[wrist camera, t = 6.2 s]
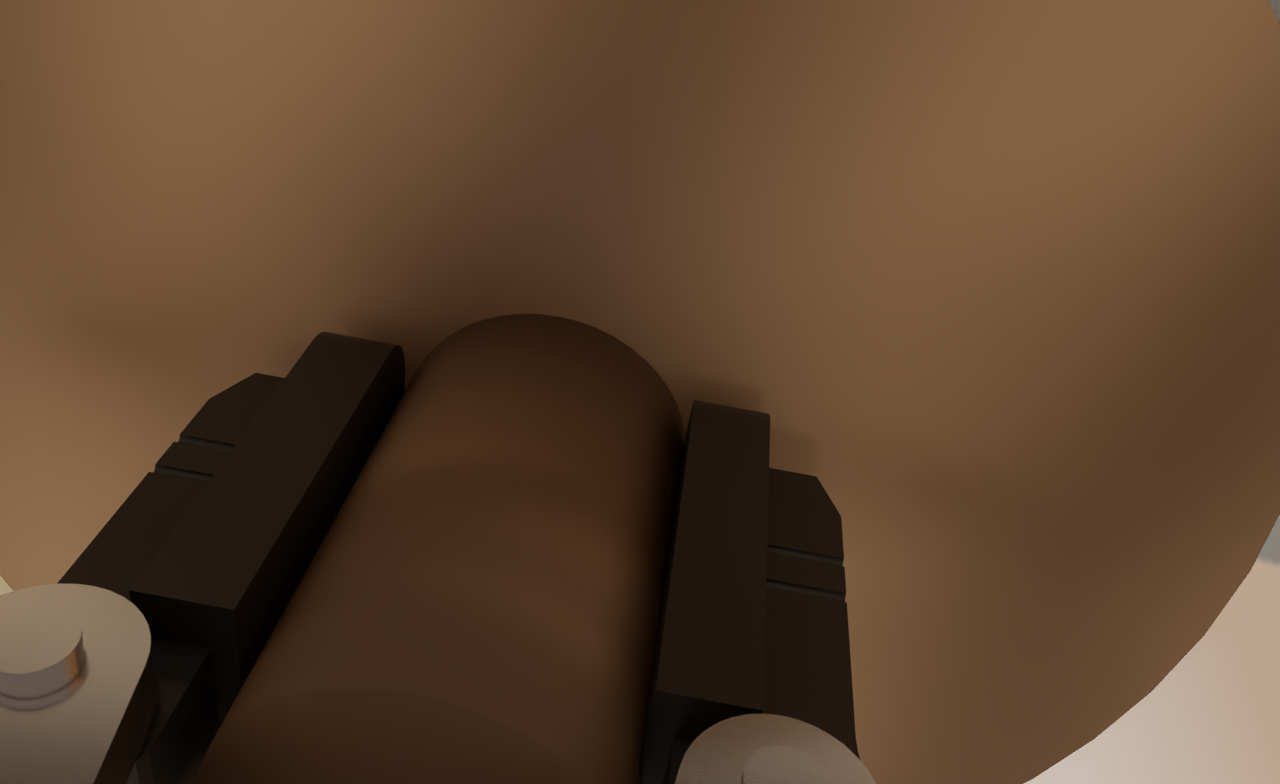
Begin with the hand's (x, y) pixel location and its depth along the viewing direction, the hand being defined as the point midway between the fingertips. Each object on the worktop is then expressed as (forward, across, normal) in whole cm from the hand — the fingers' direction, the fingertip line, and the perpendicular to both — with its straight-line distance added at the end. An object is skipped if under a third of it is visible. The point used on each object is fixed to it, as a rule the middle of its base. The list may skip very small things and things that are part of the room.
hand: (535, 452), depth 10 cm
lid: (+2, 0, 0) cm, 2 cm away
